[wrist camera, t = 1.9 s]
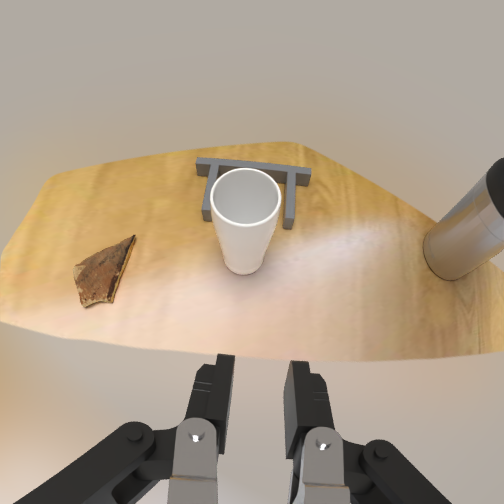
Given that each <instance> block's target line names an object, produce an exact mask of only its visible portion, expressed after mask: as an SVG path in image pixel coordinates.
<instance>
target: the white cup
mask: <svg viewBox="0 0 504 504" xmlns="http://www.w3.org/2000/svg"><path fill="white" fill-rule="evenodd" d="M210 206H211V216H212V222H213V226H214V229H215V232H216V235H217V238H218V241H219V244H220V247H221V250H222V253H223V259H224V262H225V264H226V266H227V267H228V268H229V269H230V270H231V271H232V272H234V273H236V274H240V275H247V274H251V273H253V272H255V271H256V270H258V269H259V267H260V266H261V265H262V262H263V259H264V255H265V253H266V250H267V248H268V245H269V243H270V241H271V238H272V236H273V233H274V231H275V228H276V225H277V222H278V218H279V213H280V206H281V192H280V189H279V187H278V185H277V183H276V182H275V181H274V179H273V178H271V177H270V176H269V175H268V174H266V173H264V172H262V171H260V170H257V169H252V168H238V169H234V170H231V171H228V172H226V173H225V174H223V175H222V176H220V177H219V178H218V179H217V180H216V182H215V183H214V185H213V187H212V189H211V193H210Z"/></svg>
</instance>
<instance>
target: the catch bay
mask: <svg viewBox="0 0 504 504" xmlns="http://www.w3.org/2000/svg"><path fill="white" fill-rule="evenodd" d="M238 168H252V169H257V170H260V171H262V172H264V173H266V174H268V175H269V176H270V177H271V178H273V179H274V181H275V182H276V183H285V195H284V214H283V228H284V229H291V228H292V225H293V222H294V216H295V185H301V186H308V183H309V180H310V177H311V168H305V167H297V166H289V165H280V164H271V163H261V162H251V161H240V160H228V159H215V158H199V157H197V160H196V169H197V175H198V176H208V180H207V185H206V190H205V195H204V200H203V205H202V215H203V220H204V221H212V216H211V206H210V193H211V189H212V187H213V185H214V183H215V182H216V180H217V179H218V178H219V177H220V176H222V175H223V174H225V173H226V172H228V171H231V170H234V169H238Z"/></svg>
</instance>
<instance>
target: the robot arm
mask: <svg viewBox="0 0 504 504" xmlns="http://www.w3.org/2000/svg"><path fill="white" fill-rule="evenodd" d="M503 249H504V158H501V159H499V160H498V161H497V162H495V163H494V164H493V166H492V167H491V168H490V169H489V170H488V171H487V172H486V174H485V175H484V176H483V177H482V178H481V179H480V180H479V181H478V183H477V184H476V185H475V186H474V187H473V188H472V189H471V190H470V191H469V192H468V193H467V194H466V195H465V196H464V197H463V198H462V199H461V201H459V202H458V203H457V205H456V206H454V208H453V209H452V210H451V211H450V212H449V213H448V214H446V215H445V217H443V218H442V219H441V220H440V222H438V223H437V224H436V225H435V226H434V227H433V228H432V229H431V230H430V231H429V232H428V233H427V235H426V236H425V239H424V244H423V250H424V255H425V258H426V261H427V263H428V265H429V266H430V268H431V269H432V270H433V272H434V273H435V274H437V275H438V276H439V277H441V278H442V279H445V280H451V281H452V280H457V279H458V278H460V277H462V276H463V275H465V274H466V273H467V274H468V273H470V272H471V271H473V270H474V269H476V268H477V267H479V266H480V265H482V264H483V263H485V262H487V261H488V260H490V259H491V258H492V257H494V256H495V255H497V254H498V253H500V252H501V251H502V250H503ZM234 363H235V355H226V354H218V355H217V361H216V365H209V364H204V365H203V366H202V367H201V368H200V369H199V370H198V371H197V373H196V377H195V382H194V385H193V390H192V392H191V397H190V400H189V404H188V408H187V412H186V416H185V418H184V420H183V421H182V422H181V423H180V424H179V425H178V426H176V427H174V428H171V429H167V430H154V431H152V429H151V428H150V427H149V426H148V425H146V424H144V423H141V422H128V423H125V424H123V425H122V426H120V427H119V428H118V429H117V430H115V431H114V432H113V433H111V434H110V435H109V436H107V437H106V438H105V439H103V440H102V441H101V442H99V443H98V444H97V445H96V446H94V447H93V448H91V449H90V450H89V451H87V452H86V453H85V454H84V455H82V456H81V457H79V458H78V459H77V460H75V461H74V462H72V463H71V464H70V465H68V466H67V467H66V468H64V469H63V470H61V471H60V472H59V473H57V474H56V475H54V476H53V477H52V478H50V479H49V480H47V481H46V482H44V483H43V484H42V485H40V486H39V487H37V488H36V489H34V490H33V491H31V492H30V493H28V494H27V495H25V496H24V497H22V498H21V499H19V500H18V501H16V502H15V503H13V504H135V503H136V502H137V501H138V500H140V499H141V498H142V497H143V496H144V495H145V494H146V493H147V492H148V491H149V490H150V489H152V488H153V487H154V486H155V485H156V484H157V483H158V482H159V481H160V480H162V479H170V480H169V491H168V502H167V504H218V496H217V495H218V494H217V462H218V455H219V454H224V450H225V442H226V435H227V427H228V418H229V411H230V403H231V395H232V386H233V375H234ZM284 420H285V444H286V459H293V470H292V472H291V479H290V488H289V496H288V504H350V503H351V504H452V503H451V502H449V500H447V499H446V498H445V497H444V496H443V495H442V494H441V493H440V492H439V491H438V490H437V489H436V488H435V487H434V486H433V485H432V484H431V483H430V482H429V481H428V480H427V479H426V478H425V477H424V476H423V475H422V474H421V473H420V472H419V471H418V470H417V469H416V468H415V467H414V466H413V465H412V464H411V463H410V462H409V461H408V460H407V459H406V458H405V457H404V456H403V455H402V454H401V453H400V452H399V451H398V449H396V447H395V446H393V444H391V443H390V442H388V441H385V440H373V441H371V442H369V443H368V444H366V446H364V445H359V444H354V443H351V442H348V441H345V440H344V439H342V437H341V436H340V434H339V433H338V432H336V431H335V428H334V423H333V418H332V413H331V407H330V402H329V396H328V393H327V386H326V382H325V381H324V379H323V378H322V377H321V375H320V374H314V373H310V368H309V362H308V361H292V360H291V361H290V364H289V369H288V373H287V378H286V382H285V387H284Z"/></svg>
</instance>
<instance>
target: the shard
mask: <svg viewBox="0 0 504 504" xmlns="http://www.w3.org/2000/svg"><path fill="white" fill-rule="evenodd" d="M135 236H136V235H133V236H131V237H130V238H127V239H125V240H123V241H121V242H120V243H118V244H116V245H114V246H111V247H108V248H106V249H104V250H102V251H100V252H98V253H96V254H94V255H92V256H90V257H88V258H87V259H85V260H83V261H82V262H81V263H79V264H77V265H75V266H74V268H73V273H74V280H75V283H76V286H77V290H78V293H79V296H80V302H81V305H82V306H83V307H85V306H88V305H90V304H92V303H95V302H98V301H103V302H109V303H112V302H113V300H114V294H115V291H116V288H117V286H118V283H119V279H120V276H121V275H122V273H123V271H124V269H125V266H126V264H127V262H128V259H129V257H130V255H131V252H132V248H133V245H134V239H135Z"/></svg>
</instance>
